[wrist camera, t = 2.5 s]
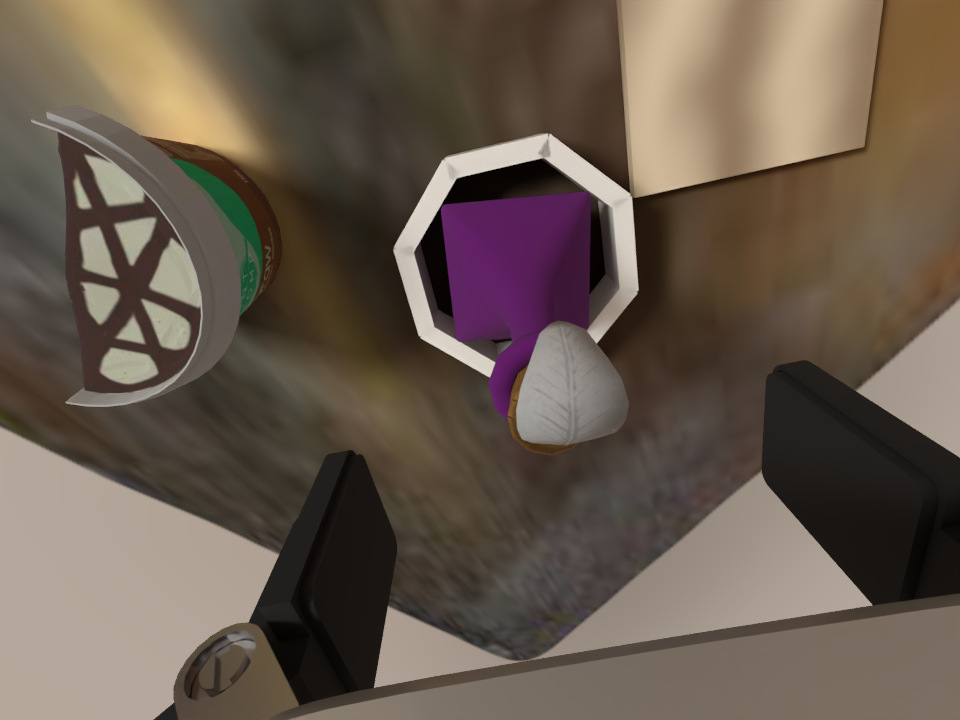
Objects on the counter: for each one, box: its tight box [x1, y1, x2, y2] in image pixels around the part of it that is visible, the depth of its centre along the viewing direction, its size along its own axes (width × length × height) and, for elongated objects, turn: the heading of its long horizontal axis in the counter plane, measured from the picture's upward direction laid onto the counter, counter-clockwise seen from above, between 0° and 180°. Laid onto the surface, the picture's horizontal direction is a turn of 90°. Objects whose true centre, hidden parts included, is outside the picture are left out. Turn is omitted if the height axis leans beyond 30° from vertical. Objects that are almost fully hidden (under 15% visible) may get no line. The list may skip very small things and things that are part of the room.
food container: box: [31, 105, 281, 407], centre depth 23 cm, size 12×6×10 cm, turn 164°
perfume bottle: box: [441, 191, 629, 455], centre depth 19 cm, size 8×8×18 cm
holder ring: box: [393, 134, 639, 377], centre depth 26 cm, size 12×12×3 cm
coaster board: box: [616, 0, 883, 198], centre depth 23 cm, size 12×12×1 cm
